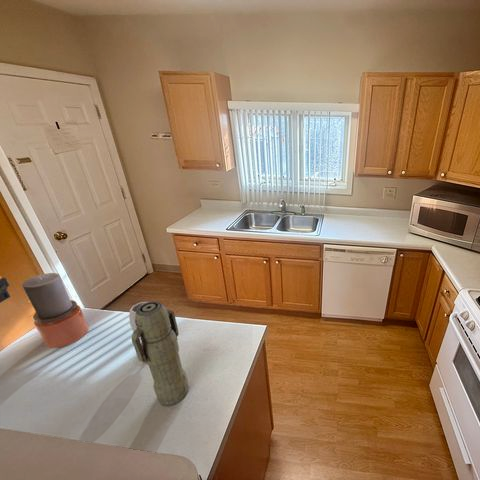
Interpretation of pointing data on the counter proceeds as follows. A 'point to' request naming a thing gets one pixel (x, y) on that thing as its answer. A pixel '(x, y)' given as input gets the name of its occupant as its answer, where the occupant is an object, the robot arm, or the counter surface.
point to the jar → (62, 327)
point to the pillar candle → (47, 295)
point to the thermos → (160, 351)
